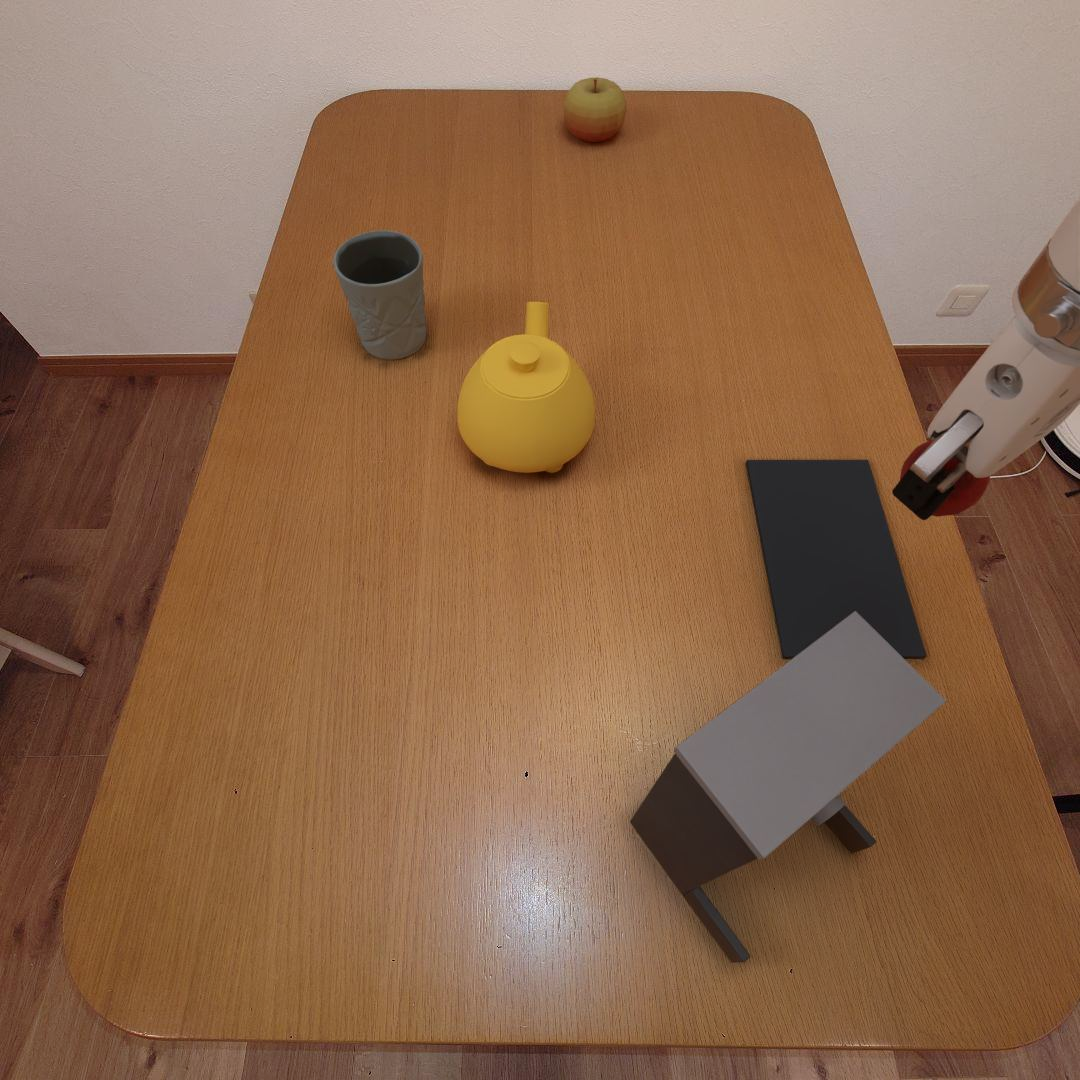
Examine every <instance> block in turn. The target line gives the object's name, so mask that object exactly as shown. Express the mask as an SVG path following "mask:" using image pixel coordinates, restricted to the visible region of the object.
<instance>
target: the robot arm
mask: <svg viewBox="0 0 1080 1080" xmlns="http://www.w3.org/2000/svg"><path fill="white" fill-rule="evenodd" d="M1011 303H1012V309H1013V312H1014V314H1015V315H1014V316H1013V317H1012V319H1011V320H1010V321H1009V322H1008V323H1007V324H1006V325H1005V327H1004V328H1003V329H1002V330H1001V331H1000V333H998V334H997V336H996V337H995V339H993V340H992V341H990V343H989V345H988V346H987V348H986V349H985V351H984V352H983V353H982V355H980V357H979V358H978V360H976V362H975V363H974V364H973V365H972V366H971V368H970V369H969V371H968V372H967V373H966V374H965V376H963V378H962V380H961V381H960V382H959V383H958V385H957V386H956V387H955V389H953V391H952V392H951V394H950V395H949V396H948V397H947V399H946V401H944V403H943V405H942V406H941V407H940V409H939V410H938V412H937V413H936V414H935V416H934V417H933V419H932V421H931V422H930V424H929V426H928V428H927V439H928V441H930V440H933V439H934V441H933V442H932V443H931V444H930V445H929V447H928V448H927V449H926V450H925V451H924V452H923V453H922V454H921V455H920V456H919V457H918V459H917V460H915V461H914V463H913V464H912V465H911V467H910V468H909V469H908V470H907V472H906V473H905V474H904V476H903V477H902V478H901V480H900V479H899V481H898V482H897V484H896V485H895V486H894V487H893V489H892V491H891V493H892V495H893V496H894V497H895V498H896V499H897V500H898V501H899V502H900V503H902V504H903V505H904V506H905V507H906V508H907V509H908V510H909V511H911V512H912V513H913V514H914V515H915V516H917V518H918V519H920V520H922V521H927V520H928V519H929V518H931V517H932V516H933V513H934V512H935V511H936V510H937V509H938V508H939V507H940V506H941V504H942V503H943V502H944V501H945V500H946V499H947V498H948V497H949V495H950V494H951V493H952V492H953V491H954V490H955V489H956V488H955V487H954V486H953V484H954V483H955V482H956V481H957V480H958V479H959V478H960V477H961V476H962V475H963V474H964V473H965V472H966V471H969V472H970V473H971V474H973V476H974V477H976V478H984V477H989V476H990V477H991V476H992V475H995V474H996V473H998V472H999V471H1000V470H1002V469H1003V468H1005V466H1007V465H1009V464H1010V463H1011V462H1012V461H1014V460H1016V459H1017V458H1019V456H1021V455H1022V454H1023V453H1025V452H1026V451H1028V450H1029V449H1030V448H1032V447H1033V446H1035V444H1037V443H1038V442H1040V441H1041V440H1042V439H1043V438H1045V437H1046V436H1048V435H1049V434H1051V432H1053V431H1054V430H1055V429H1056V428H1058V427H1059V426H1060V425H1061V424H1062V423H1063V422H1064V421H1066V419H1067V418H1068V417H1070V416H1071V414H1073V412H1074V411H1075V410H1076V409H1077V408H1078V406H1079V405H1080V197H1079V198H1078V199H1077V201H1076V202H1075V203H1074V205H1073V206H1072V207H1071V208H1070V210H1069V211H1068V213H1067V215H1065V218H1063V221H1061V223H1060V224H1059V226H1058V227H1057V228H1056V230H1055V232H1054V233H1053V234H1052V236H1051V237H1050V238H1049V240H1048V241H1047V243H1046V244H1045V245H1044V247H1043V248H1042V250H1041V251H1040V253H1039V254H1038V255H1037V257H1036V258H1035V259H1034V260H1033V262H1032V263H1031V265H1030V266H1029V268H1028V269H1027V271H1026V272H1025V273H1024V275H1023V276H1022V278H1021V279H1020V281H1019V282H1018V284H1016V286H1015V288H1014V290H1013V293H1012V297H1011ZM968 442H970V443H969V448H967V447H966V446H965V445H966V444H967V443H968ZM953 456H954V457H955V458H956V459H957V460H959V461H960V463H959V464H958V465H957V466H956V467H955V468H954V469H953V470H952V471H951V472H950V473H949V474H948V473H947V472H945V471H944V470H943V469H942V467H943V466H944V465H945V464H946V463H947V462H948V461H949V460H950V459H951V458H952V457H953Z"/></svg>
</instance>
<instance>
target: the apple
mask: <svg viewBox="0 0 1080 1080" xmlns="http://www.w3.org/2000/svg"><path fill="white" fill-rule="evenodd" d="M626 114H627V100H626V98H625V95H624V91H623V89H622V88H621V87H620V86H619V85H618V84H617V82H615V81H613V80H610V79H608V78H604V77H596V76H595V77H587V78H583V79H581V80H578V81H576V82H574V84H573V85H572V86H571V87H570V89H568V91H567V92H566V94H565V96H564V100H563V120H564V124H565V125H566V127H567V128H568V130H569V132H570V133H571V135H572V136H574V137H576V138H578V139H579V140H581V141H585V142H588V143H599V142H604V141H606V140H608V139H610V138H612V137H613V136H614V135H616V134H617V133H618V132H619V130H620V129H621V127H622V126H623V124H624V121H625V118H626Z"/></svg>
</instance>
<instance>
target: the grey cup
mask: <svg viewBox="0 0 1080 1080" xmlns="http://www.w3.org/2000/svg"><path fill="white" fill-rule="evenodd" d="M422 251H423V250H422V248H421V247H420V245H419V244H418V243H417V241H416V240H415V239H413V238H412V237H411V236H409V235H407V234H405V233H401V232H398V231H395V230H388V229H387V230H386V229H382V230H381V229H380V230H372V231H367V232H362V233H360V234H356V235H354V236H352V237H350V238H349V239H347V240H345V241H344V242H343V243H342V244H341V245H340V246H338V248H337V249H336V250H335V253H334V254H333V255H334V256H333V261H332V265H333V268H334V271H335V274H336V276H337V279H338V281H339V284H340V287H341V290H342V292H343V295H344V297H345V299H346V300H347V301H348V302H347V306H348V308H349V311H350V315H351V316H352V320H353V322H354V324H355V328H356V332H357V334H358V337H359V340H360V343H361V345H362V347H363V348H364V350H365V351H366V352H367V353H368V354H369V355H371V356H372V357H375V358H377V359H380V360H387V361H395V360H401V359H405V358H407V357H410V356H412V355H414V354H416V353H417V352H418V351H420V349H422V347H423V346H424V344H425V341H426V338H427V335H428V332H427V330H428V329H427V320H426V314H425V304H426V302H425V294H424V293H425V290H424V282H425V281H424V263H423V261H424V260H423V259H424V257H423V252H422Z"/></svg>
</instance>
